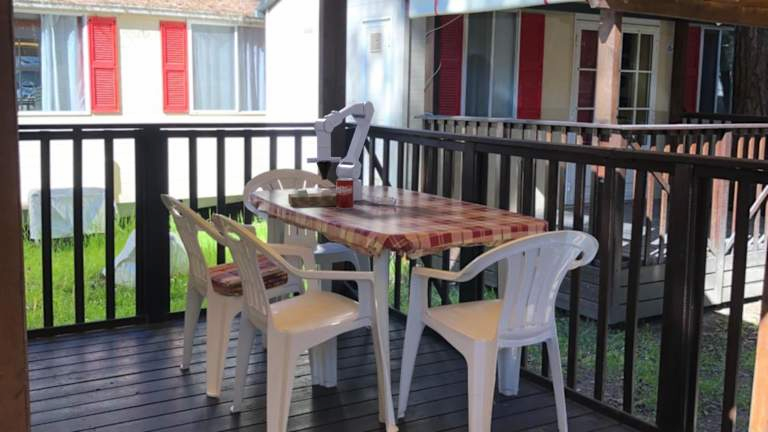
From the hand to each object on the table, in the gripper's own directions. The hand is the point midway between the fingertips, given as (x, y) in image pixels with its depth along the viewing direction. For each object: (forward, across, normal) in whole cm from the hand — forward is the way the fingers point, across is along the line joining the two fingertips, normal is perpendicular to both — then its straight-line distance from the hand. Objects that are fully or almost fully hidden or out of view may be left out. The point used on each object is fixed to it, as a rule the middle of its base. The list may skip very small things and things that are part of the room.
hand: (324, 179), depth 349 cm
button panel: (+10, +5, 0) cm, 11 cm away
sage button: (+8, +10, -1) cm, 13 cm away
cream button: (+8, 0, +1) cm, 8 cm away
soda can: (+11, -4, +14) cm, 18 cm away
